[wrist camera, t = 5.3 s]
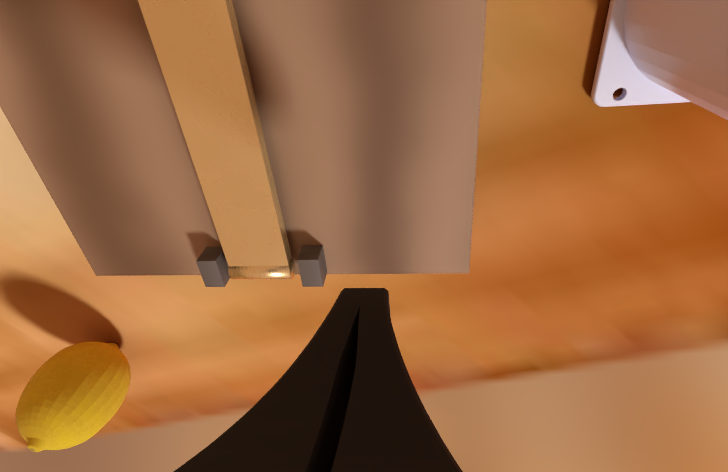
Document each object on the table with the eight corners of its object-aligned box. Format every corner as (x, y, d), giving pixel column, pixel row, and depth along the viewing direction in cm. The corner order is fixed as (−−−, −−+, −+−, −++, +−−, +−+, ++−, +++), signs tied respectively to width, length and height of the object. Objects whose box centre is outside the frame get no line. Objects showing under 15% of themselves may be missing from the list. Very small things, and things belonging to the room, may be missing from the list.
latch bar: (229, -25, 14) (217, -23, 13) (296, 270, 21) (291, 283, 20) (146, -16, 14) (129, -14, 13) (239, 270, 21) (231, 283, 20)
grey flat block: (481, -120, 14) (506, -149, 11) (462, 238, 22) (473, 295, 19) (-19, -56, 17) (-145, -61, 13) (127, 244, 25) (76, 295, 21)
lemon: (61, 321, 30) (-39, 423, 23) (127, 314, 29) (42, 420, 22) (103, 371, 33) (24, 475, 26) (164, 366, 32) (98, 474, 25)
